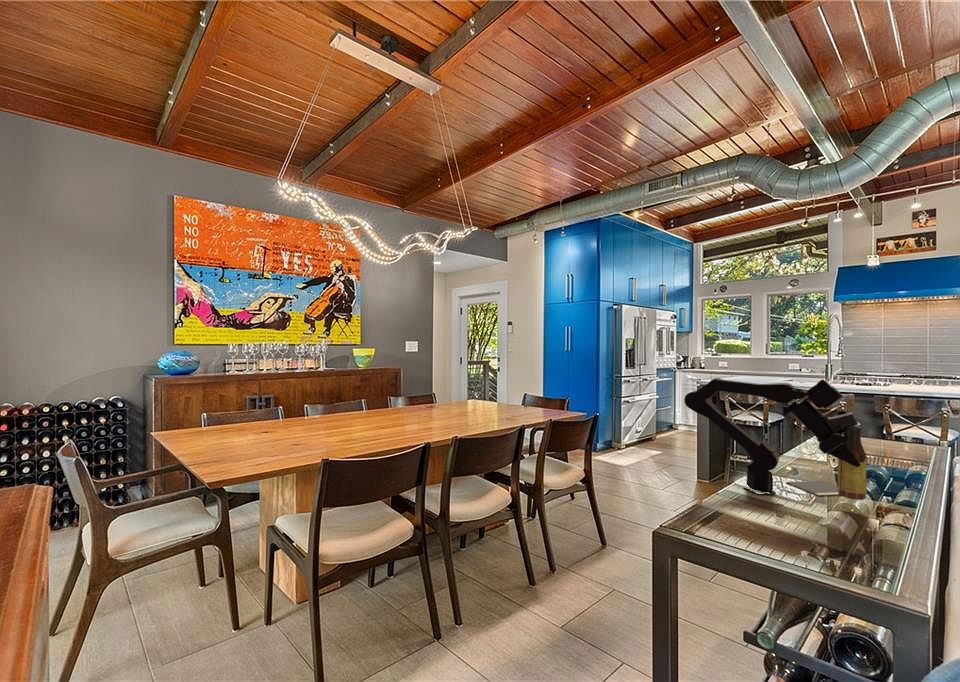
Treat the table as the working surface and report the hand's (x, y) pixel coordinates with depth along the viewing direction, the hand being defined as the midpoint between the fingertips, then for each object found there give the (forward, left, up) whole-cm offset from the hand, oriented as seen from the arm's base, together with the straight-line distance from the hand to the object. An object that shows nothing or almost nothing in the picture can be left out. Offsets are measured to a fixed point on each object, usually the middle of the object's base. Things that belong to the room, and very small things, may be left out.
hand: (858, 463), depth 126 cm
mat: (+6, +17, -13) cm, 23 cm away
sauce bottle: (-1, +1, -10) cm, 10 cm away
